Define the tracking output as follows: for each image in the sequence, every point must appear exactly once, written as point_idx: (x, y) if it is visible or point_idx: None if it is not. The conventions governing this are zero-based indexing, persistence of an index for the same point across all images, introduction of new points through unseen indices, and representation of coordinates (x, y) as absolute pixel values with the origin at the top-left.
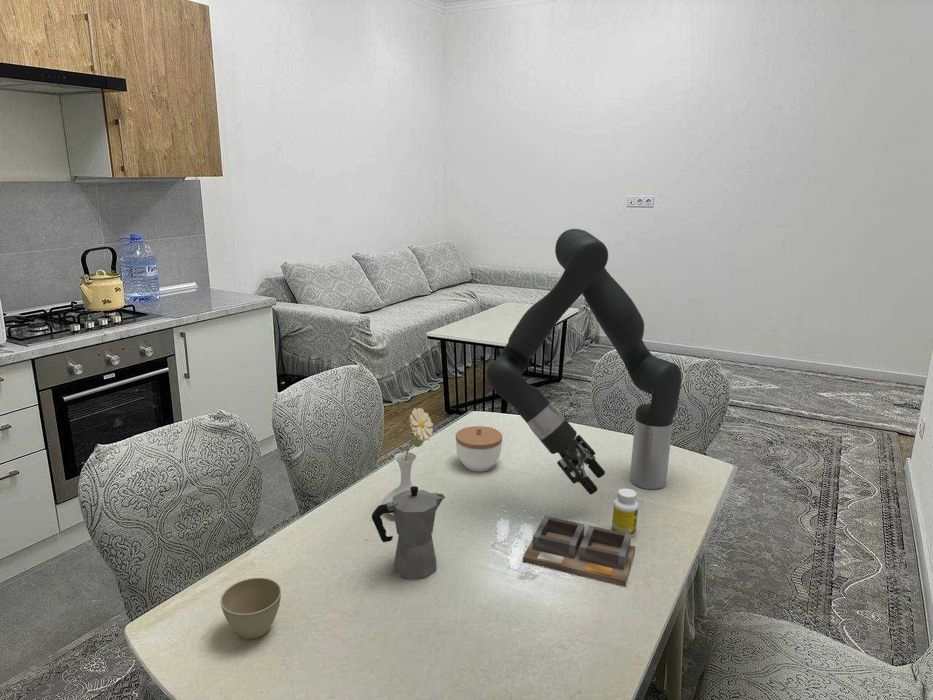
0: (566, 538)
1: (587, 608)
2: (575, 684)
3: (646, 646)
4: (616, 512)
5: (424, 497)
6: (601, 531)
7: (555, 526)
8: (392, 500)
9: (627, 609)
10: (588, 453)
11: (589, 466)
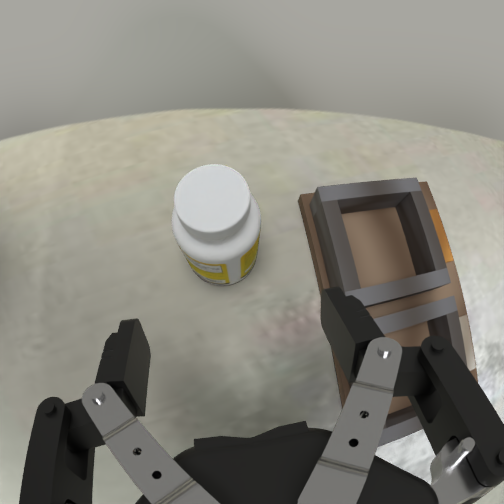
0: None
1: (496, 227)
2: None
3: (488, 141)
4: (255, 246)
5: None
6: (354, 264)
7: None
8: None
9: (460, 172)
10: (145, 433)
11: (142, 406)
